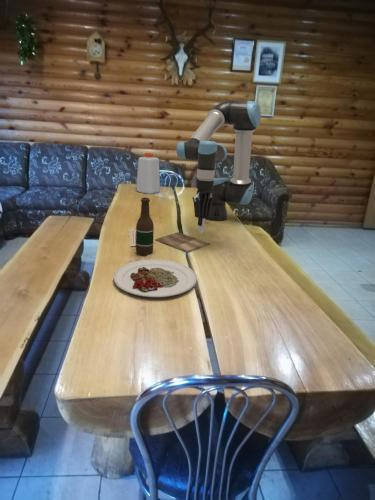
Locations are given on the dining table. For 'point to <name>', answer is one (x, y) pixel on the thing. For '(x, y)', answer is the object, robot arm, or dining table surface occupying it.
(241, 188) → the robot arm
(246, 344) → the dining table surface
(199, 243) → the plank
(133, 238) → the newspaper
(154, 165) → the white thread spool
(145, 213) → the beer bottle
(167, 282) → the plated food
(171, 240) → the floor panel
